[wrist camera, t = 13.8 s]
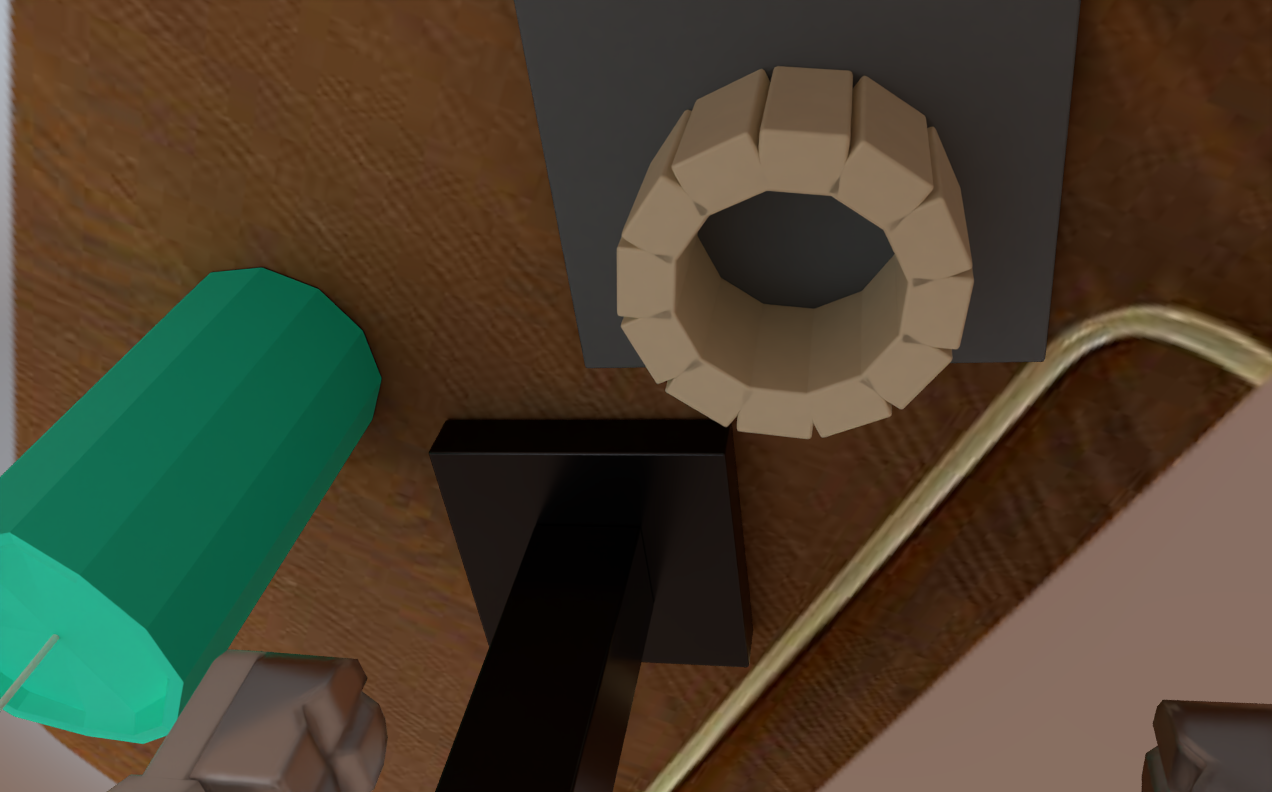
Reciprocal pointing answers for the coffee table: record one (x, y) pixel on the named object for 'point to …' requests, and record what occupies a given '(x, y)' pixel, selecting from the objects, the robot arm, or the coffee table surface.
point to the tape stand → (586, 584)
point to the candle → (173, 502)
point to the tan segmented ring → (783, 335)
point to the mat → (793, 222)
